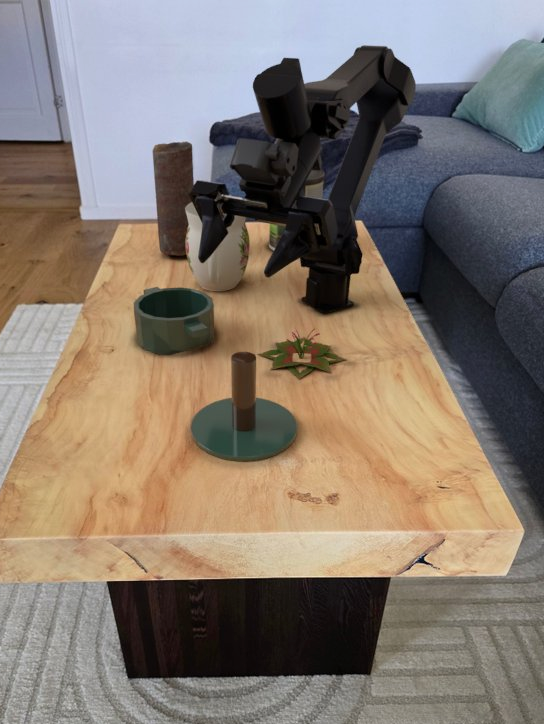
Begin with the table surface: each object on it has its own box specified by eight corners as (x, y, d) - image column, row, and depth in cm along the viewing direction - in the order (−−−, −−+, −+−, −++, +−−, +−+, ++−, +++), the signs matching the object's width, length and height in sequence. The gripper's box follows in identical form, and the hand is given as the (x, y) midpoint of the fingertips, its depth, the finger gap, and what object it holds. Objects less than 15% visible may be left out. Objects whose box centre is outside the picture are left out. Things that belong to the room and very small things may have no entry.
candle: (195, 261, 122) (190, 148, 110) (157, 261, 122) (148, 148, 110) (198, 247, 128) (193, 139, 116) (162, 247, 128) (153, 139, 116)
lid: (260, 394, 83) (261, 322, 77) (317, 443, 74) (324, 367, 68) (173, 422, 78) (167, 348, 72) (223, 478, 69) (221, 399, 63)
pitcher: (180, 306, 105) (175, 222, 97) (193, 266, 119) (189, 190, 111) (246, 308, 104) (246, 223, 96) (251, 267, 119) (251, 191, 110)
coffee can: (276, 257, 123) (279, 180, 115) (262, 240, 131) (263, 167, 123) (327, 252, 125) (332, 177, 117) (310, 236, 133) (314, 164, 125)
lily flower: (242, 357, 91) (242, 328, 88) (304, 334, 97) (306, 306, 94) (297, 392, 83) (299, 361, 80) (361, 364, 89) (365, 335, 86)
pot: (185, 308, 104) (183, 276, 101) (237, 350, 93) (236, 315, 89) (119, 324, 100) (114, 291, 96) (164, 370, 88) (161, 334, 85)
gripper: (202, 107, 76) (142, 207, 72) (346, 121, 69) (287, 233, 65) (230, 178, 86) (178, 269, 82) (358, 197, 78) (307, 299, 74)
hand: (232, 267), depth 76 cm, fingers open, 9 cm apart
